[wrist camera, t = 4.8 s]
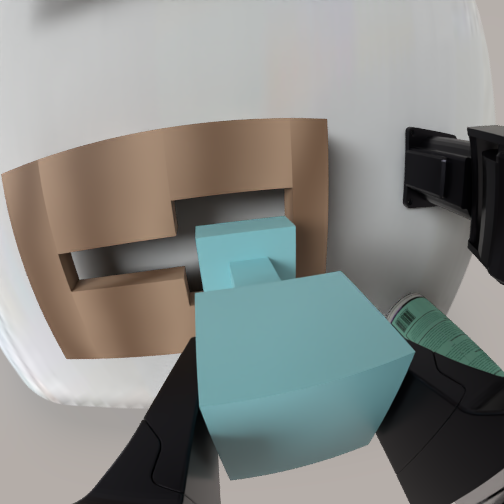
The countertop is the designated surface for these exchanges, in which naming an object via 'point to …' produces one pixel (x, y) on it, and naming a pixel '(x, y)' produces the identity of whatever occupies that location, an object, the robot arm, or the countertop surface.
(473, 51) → the countertop surface
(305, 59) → the countertop surface
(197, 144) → the keyhole plate
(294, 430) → the teal peg
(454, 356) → the spray can
